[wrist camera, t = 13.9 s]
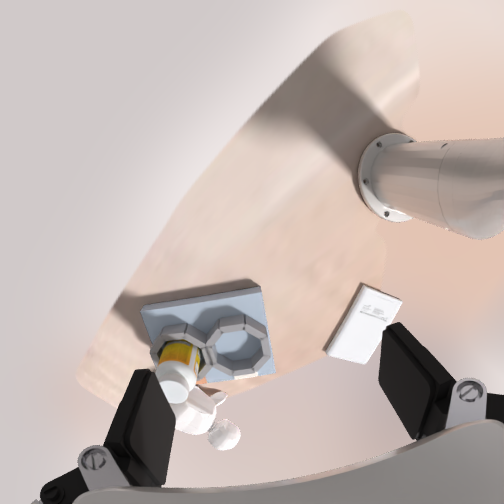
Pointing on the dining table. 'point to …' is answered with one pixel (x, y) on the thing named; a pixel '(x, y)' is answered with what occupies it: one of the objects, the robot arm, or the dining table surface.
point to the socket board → (208, 317)
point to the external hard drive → (364, 325)
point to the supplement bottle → (178, 369)
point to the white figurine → (205, 418)
